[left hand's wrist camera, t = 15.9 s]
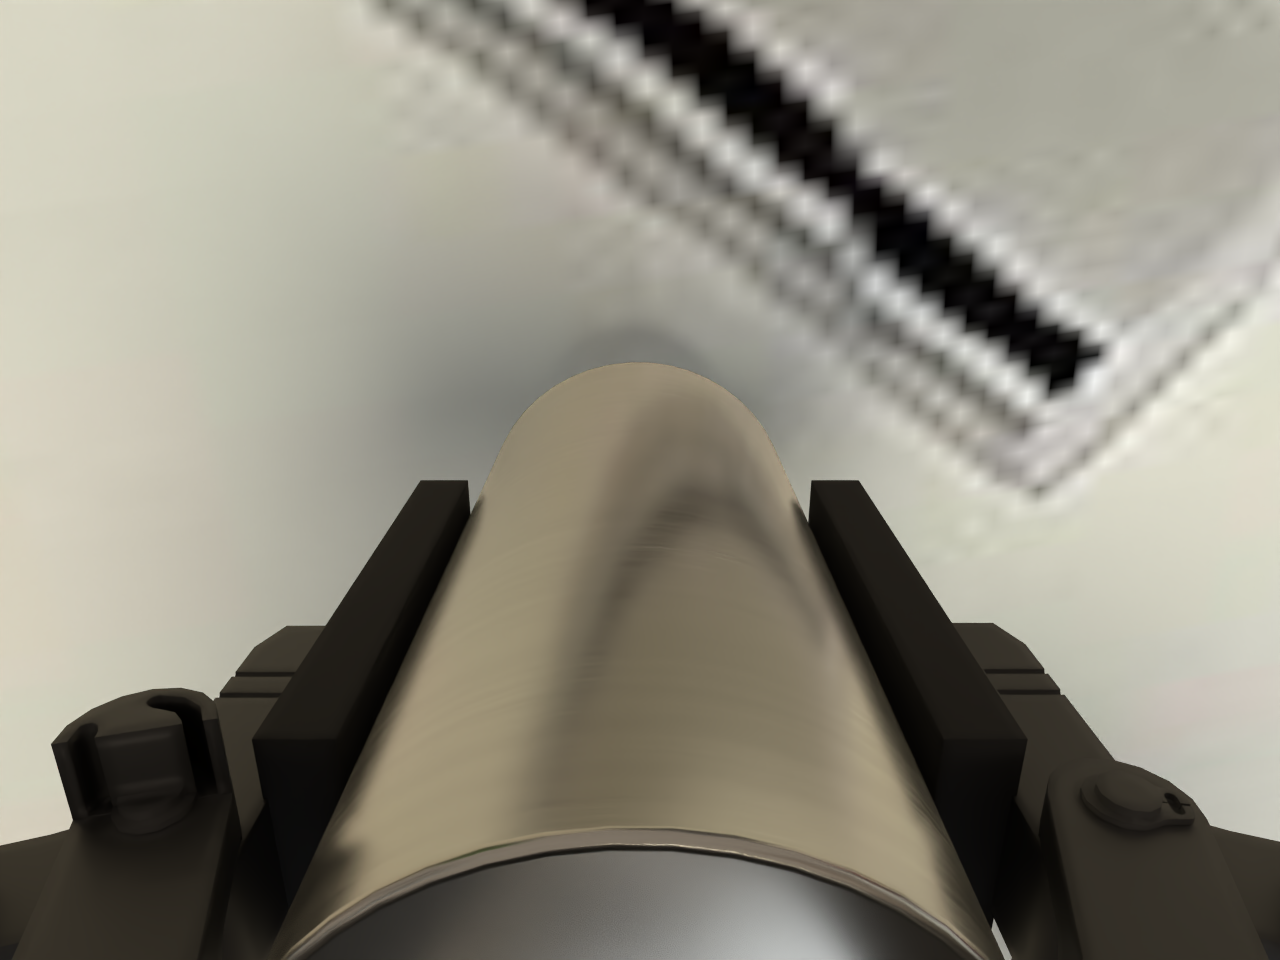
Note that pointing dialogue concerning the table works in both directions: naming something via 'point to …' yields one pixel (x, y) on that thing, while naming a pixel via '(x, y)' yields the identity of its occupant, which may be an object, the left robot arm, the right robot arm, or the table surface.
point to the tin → (636, 722)
